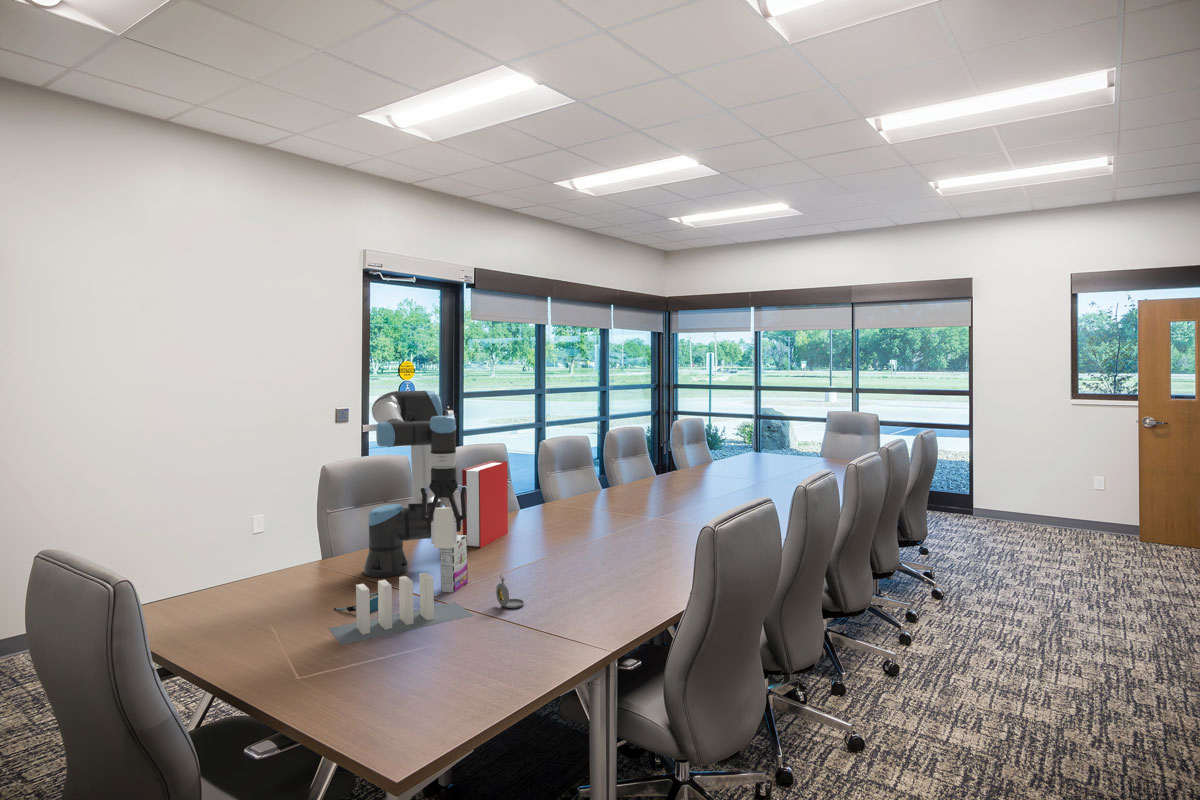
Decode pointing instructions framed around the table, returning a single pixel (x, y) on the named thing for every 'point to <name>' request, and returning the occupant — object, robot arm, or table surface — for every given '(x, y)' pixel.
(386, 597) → the domino
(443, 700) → the table surface
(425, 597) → the domino
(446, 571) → the candy bar box
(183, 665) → the table surface
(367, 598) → the domino
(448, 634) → the table surface
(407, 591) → the domino
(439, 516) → the domino
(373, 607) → the sunglasses
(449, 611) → the mat
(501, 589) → the pocket watch
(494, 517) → the book
